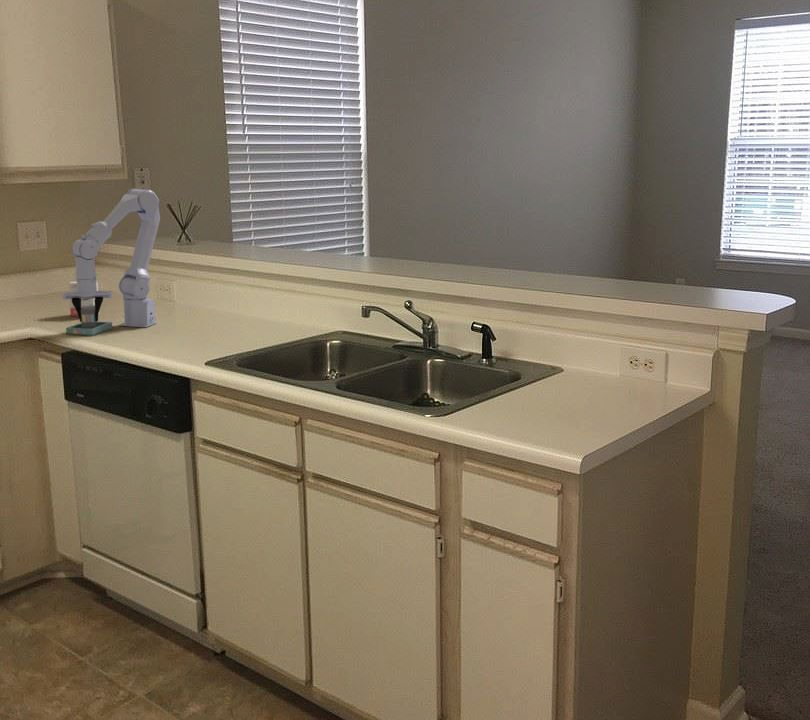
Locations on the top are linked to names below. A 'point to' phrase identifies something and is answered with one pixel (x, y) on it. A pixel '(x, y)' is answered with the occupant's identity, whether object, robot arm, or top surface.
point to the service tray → (89, 329)
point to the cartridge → (88, 317)
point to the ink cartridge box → (83, 301)
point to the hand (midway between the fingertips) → (89, 321)
